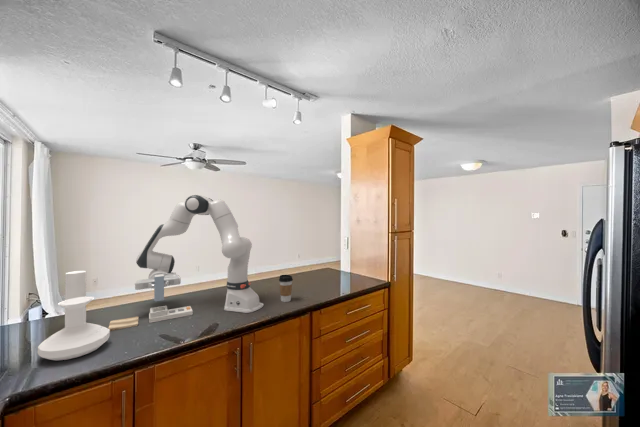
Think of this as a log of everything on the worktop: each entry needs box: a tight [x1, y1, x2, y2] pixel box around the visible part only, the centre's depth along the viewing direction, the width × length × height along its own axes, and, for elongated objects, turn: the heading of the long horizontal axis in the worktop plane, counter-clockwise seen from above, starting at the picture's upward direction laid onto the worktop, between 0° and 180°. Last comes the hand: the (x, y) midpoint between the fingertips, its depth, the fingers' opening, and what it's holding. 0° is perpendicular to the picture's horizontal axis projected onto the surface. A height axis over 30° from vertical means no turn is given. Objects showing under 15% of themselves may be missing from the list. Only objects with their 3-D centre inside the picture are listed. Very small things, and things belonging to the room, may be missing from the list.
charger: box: [153, 274, 165, 302], centre depth 132 cm, size 5×4×12 cm
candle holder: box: [37, 296, 111, 362], centre depth 99 cm, size 20×20×19 cm
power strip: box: [148, 305, 194, 324], centre depth 135 cm, size 19×9×4 cm, turn 124°
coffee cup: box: [278, 274, 294, 303], centre depth 160 cm, size 8×8×15 cm
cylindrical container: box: [64, 270, 87, 328], centre depth 122 cm, size 7×7×25 cm
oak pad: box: [107, 315, 139, 332], centre depth 124 cm, size 11×11×1 cm
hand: (159, 285), depth 131 cm, fingers closed on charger, 4 cm apart
